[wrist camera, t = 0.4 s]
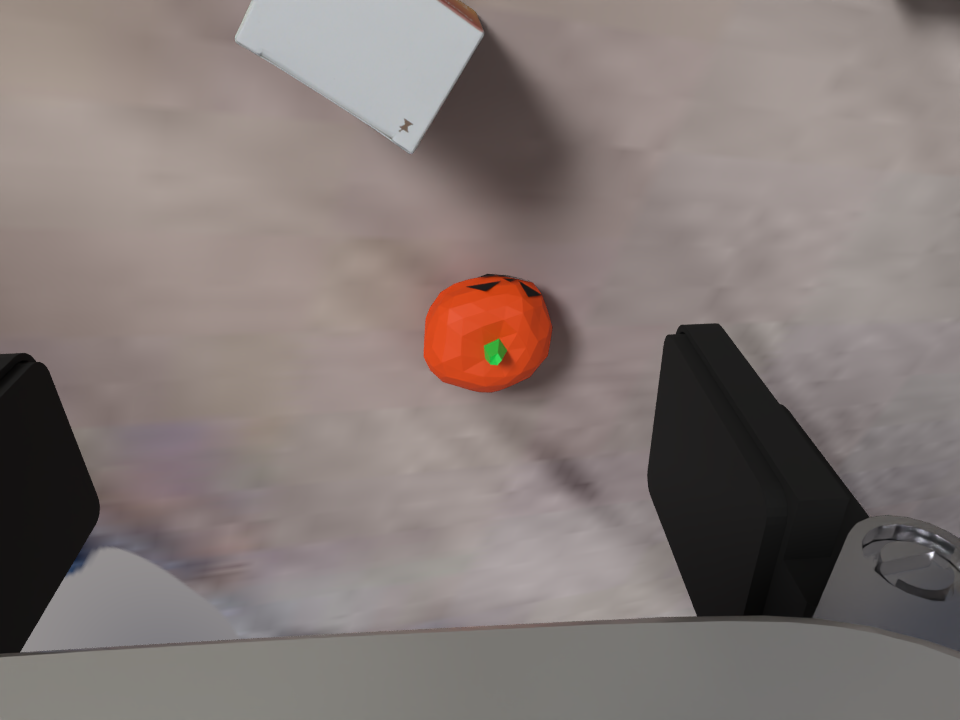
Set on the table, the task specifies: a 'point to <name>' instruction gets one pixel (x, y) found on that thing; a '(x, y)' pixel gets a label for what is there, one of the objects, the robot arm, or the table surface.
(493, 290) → the pumpkin
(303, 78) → the small box
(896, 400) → the table surface
